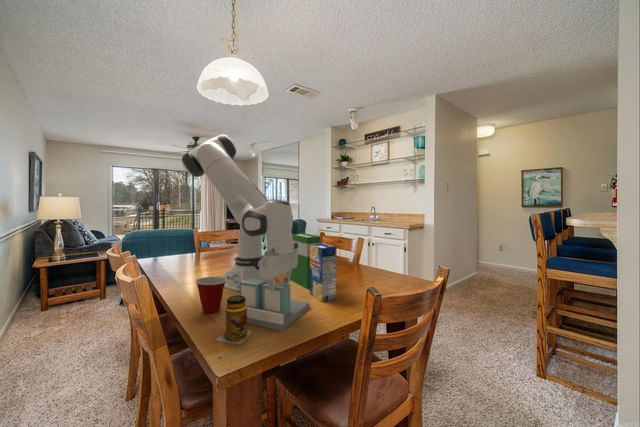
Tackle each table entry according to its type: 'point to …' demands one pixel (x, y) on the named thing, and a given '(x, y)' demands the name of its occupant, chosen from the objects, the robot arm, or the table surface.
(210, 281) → the plastic cup
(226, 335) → the condiment
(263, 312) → the shelf board
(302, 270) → the hardback book
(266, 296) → the carton
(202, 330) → the table surface
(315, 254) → the beverage box
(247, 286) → the carton
